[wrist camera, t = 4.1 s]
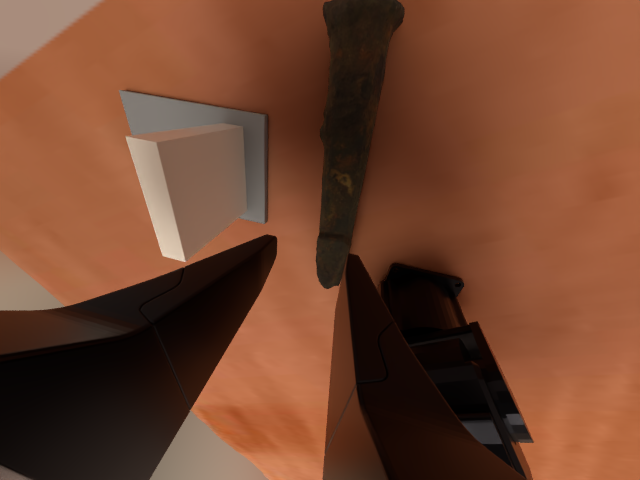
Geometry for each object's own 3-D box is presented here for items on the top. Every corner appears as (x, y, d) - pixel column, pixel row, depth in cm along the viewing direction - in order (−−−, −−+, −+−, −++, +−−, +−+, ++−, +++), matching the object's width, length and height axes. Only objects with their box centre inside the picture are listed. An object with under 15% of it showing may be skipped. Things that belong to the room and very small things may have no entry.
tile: (243, 126, 17) (156, 142, 10) (247, 210, 21) (185, 261, 14) (221, 122, 17) (122, 135, 10) (229, 206, 21) (160, 255, 14)
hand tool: (334, 11, 13) (315, -26, 9) (402, 17, 13) (413, -19, 9) (307, 261, 24) (294, 292, 20) (345, 270, 23) (338, 304, 19)
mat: (267, 114, 17) (264, 115, 16) (267, 221, 22) (264, 223, 21) (125, 90, 18) (118, 90, 18) (155, 195, 23) (150, 198, 22)
